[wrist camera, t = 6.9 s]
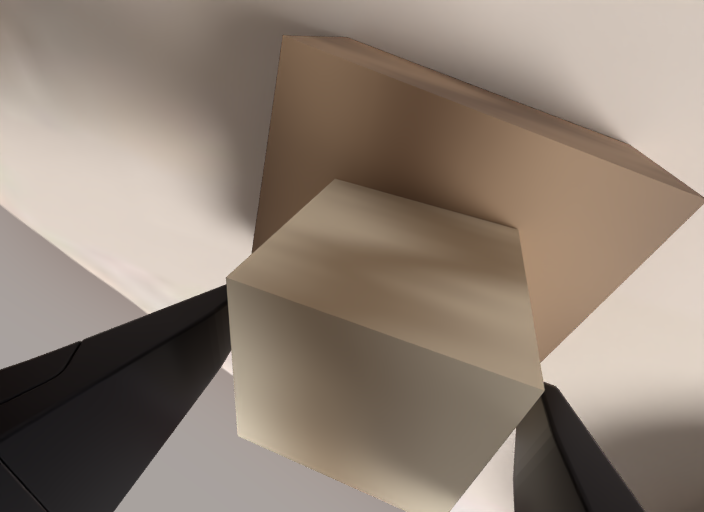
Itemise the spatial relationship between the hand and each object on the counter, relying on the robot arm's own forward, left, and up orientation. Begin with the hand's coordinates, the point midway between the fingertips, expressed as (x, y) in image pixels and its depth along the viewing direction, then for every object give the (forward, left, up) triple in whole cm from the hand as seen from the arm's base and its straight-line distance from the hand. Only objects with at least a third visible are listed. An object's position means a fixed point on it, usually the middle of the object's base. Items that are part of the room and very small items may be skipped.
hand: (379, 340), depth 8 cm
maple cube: (0, 0, -3) cm, 3 cm away
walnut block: (0, 0, -8) cm, 8 cm away
